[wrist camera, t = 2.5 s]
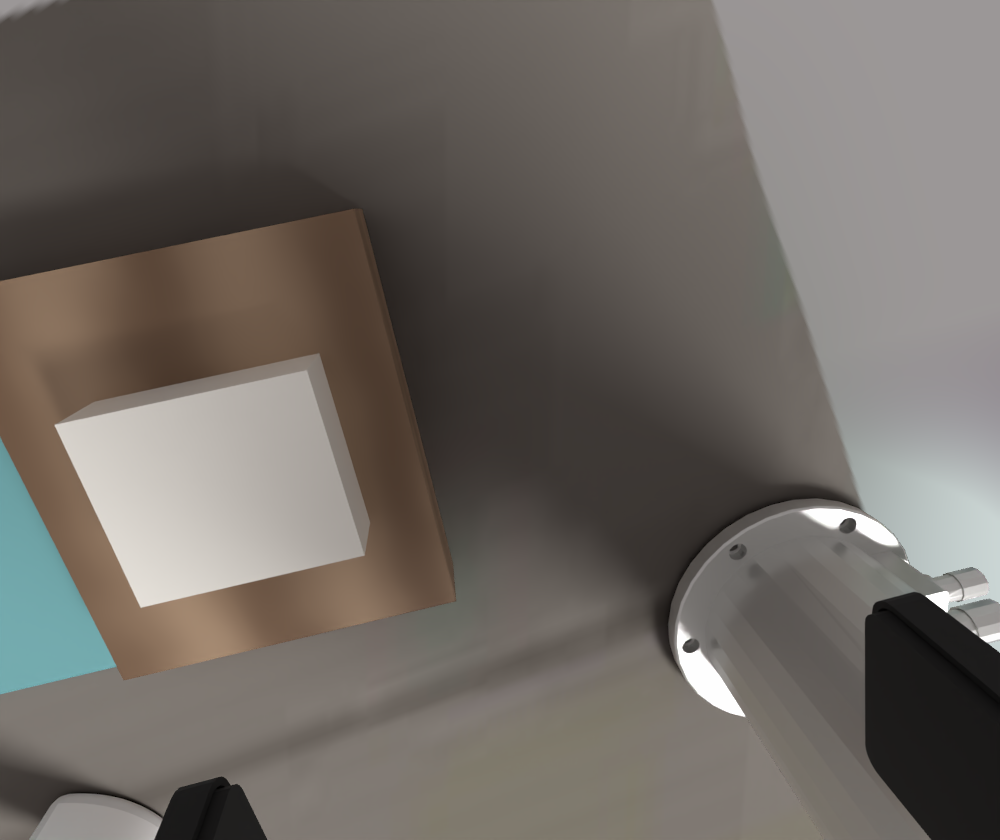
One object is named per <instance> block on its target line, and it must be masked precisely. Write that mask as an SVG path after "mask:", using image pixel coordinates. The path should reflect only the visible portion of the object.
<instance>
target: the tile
mask: <svg viewBox="0 0 1000 840" xmlns="http://www.w3.org/2000/svg"><path fill="white" fill-rule="evenodd" d="M55 427H56V429H57V432H58V434H59V436H60V438H61V440H62V442H63V444H64V446H65V449H66V451H67V453H68V455H69V457H70V459H71V461H72V463H73V465H74V468H75V470H76V472H77V474H78V476H79V478H80V480H81V482H82V485H83V487H84V489H85V491H86V493H87V495H88V497H89V499H90V501H91V504H92V506H93V508H94V510H95V512H96V514H97V516H98V518H99V521H100V523H101V525H102V527H103V529H104V531H105V533H106V535H107V537H108V540H109V542H110V544H111V546H112V548H113V550H114V552H115V554H116V557H117V559H118V561H119V563H120V565H121V567H122V569H123V571H124V573H125V576H126V578H127V580H128V582H129V584H130V586H131V588H132V590H133V593H134V595H135V597H136V599H137V601H138V603H139V605H140V607H141V608H142V607H146V606H150V605H155V604H159V603H163V602H168V601H172V600H176V599H181V598H185V597H189V596H193V595H198V594H202V593H206V592H211V591H215V590H219V589H223V588H228V587H232V586H236V585H241V584H245V583H249V582H253V581H258V580H262V579H266V578H271V577H275V576H279V575H283V574H288V573H292V572H296V571H301V570H305V569H309V568H314V567H318V566H322V565H326V564H331V563H335V562H339V561H344V560H348V559H352V558H356V557H361V556H365V551H366V545H367V538H368V532H369V526H370V520H369V517H368V514H367V510H366V507H365V504H364V500H363V497H362V494H361V490H360V487H359V484H358V480H357V477H356V474H355V470H354V467H353V464H352V460H351V457H350V454H349V451H348V447H347V444H346V441H345V437H344V434H343V431H342V427H341V424H340V421H339V417H338V414H337V411H336V407H335V404H334V401H333V397H332V394H331V391H330V388H329V384H328V381H327V378H326V374H325V371H324V368H323V364H322V361H321V358H320V354H319V353H317V354H313V355H308V356H304V357H299V358H294V359H290V360H285V361H280V362H276V363H271V364H267V365H262V366H257V367H253V368H248V369H243V370H239V371H234V372H229V373H225V374H220V375H216V376H211V377H206V378H202V379H197V380H192V381H188V382H183V383H179V384H174V385H169V386H165V387H160V388H155V389H151V390H146V391H142V392H137V393H132V394H128V395H123V396H118V397H114V398H109V399H104V400H100V401H95V402H93V403H91V404H89V405H88V406H86V407H84V408H83V409H81V410H79V411H77V412H76V413H74V414H72V415H71V416H69V417H67V418H65V419H64V420H62V421H60V422H59V423H57V424H55Z"/></svg>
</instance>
